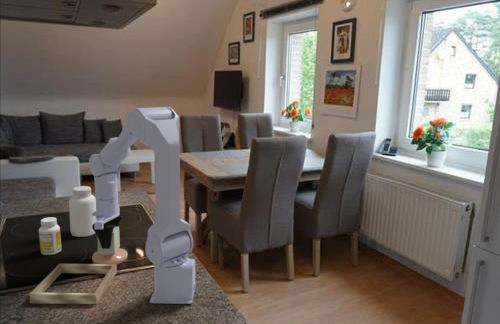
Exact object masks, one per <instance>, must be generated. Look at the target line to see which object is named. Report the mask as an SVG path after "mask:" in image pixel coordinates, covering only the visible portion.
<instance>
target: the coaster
mask: <svg viewBox="0 0 500 324" xmlns="http://www.w3.org/2000/svg"><path fill="white" fill-rule="evenodd" d="M127 254H128V253H127V251H126V250H125V249H124V248H120V247H119V248H118V250H117V251H116V253H98V250H97V251H95V252H94V253H93V254H92V257H91V259H92V264H116V265H119V264H122V263H123V262H124V261H126V260H127V257H128V256H127Z"/></svg>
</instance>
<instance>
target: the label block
mask: <svg viewBox="0 0 500 324" xmlns="http://www.w3.org/2000/svg"><path fill="white" fill-rule="evenodd" d="M120 237H121V236H120V226H119V227H114V229H113V233H112V239H111V246H110V249H102V247H101V245H100V241H99V239H98V236H97V235H96V240H97V251H98V253H116V251H117V250H118V248H120V247H121V244H120V241H121V240H120Z"/></svg>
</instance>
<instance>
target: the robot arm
mask: <svg viewBox="0 0 500 324" xmlns="http://www.w3.org/2000/svg"><path fill="white" fill-rule="evenodd" d="M137 141H139V142H140V143H142V144H143V145H144V146H145V147H148V148H151V149H152V151H153V153H154V179H155V188H154V189H155V221H154V222H153V223H152V225H150V227H149V228H148V230H147V239H146V241H145V247H144V248H145V249H144V251H145V254H146V257H147V259H148V260H149V261H150V262H151V263H152V264H153V268H154V269H153V271H154V273H153V274H154V275H153V277H154V279H153V281H154V290H153V291H152V295H151V297H150V300H149V303H150V304H176V305H177V304H180V305H181V304H184V305H185V304H188V305H189V304H192V303H193V301H194V300H193V299H194V296H195V291H196V287H197V282H196V259H193V258H189V254H190V252H192V250H193V248H194V238H193V234H192V230H191V224H189V223H188V222H187V221H186V220H184V219H182V218H181V174H180V173H181V162H180V161H181V157H180V146H181V145H180V116H179V115H178V114H177V113H176V111H175V110H174V109H173V108H172V107H171V106H167V105H165V106H157V107H132V108H131V109H130V110H129V111H128V113H127V114H126V115H125V126H124V127H123V129H122V130H121V132H120V134H119V135H118V137H110V138H109V139H108V142H107V144H106V145H105V146H104V147H103V148H102V150H101V151H100V152H99V153H93V154H91V155H90V157H89V161H88V166H89V170H90V173H91V174H92V175H93V177H94V195H95V196H94V197H95V198H96V211H94V212H93V213H92V216H96V221H95V222H94V224H93V225H92V229H93V230H94V231H95V235H96V237H97V236H98V239H99V241H100V245H101V247H102V249H110V246H111V239H112V233H113V229H114V227H119V228H120V224H121V222H122V219H123V215H124V214H121V213H120V209H121V208H120V204H119V188H118V180H119V179H120V172H121V170H122V164H123V162H124V160H126V158H127V157H128V156H129V155H130V154H131V151H132V150H131V147H132V146H133V144H135V143H136V142H137Z"/></svg>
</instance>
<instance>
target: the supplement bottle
mask: <svg viewBox="0 0 500 324" xmlns="http://www.w3.org/2000/svg"><path fill="white" fill-rule="evenodd" d="M57 221H58V220H57V217H53V216H51V217H50V216H48V217H44V218H42V219H41V220H40V225H41V226H40V227H39V229H38V237H39V248H40V254H41V255H44V256H51V255H56V254H58V253H59V252H61V251H62V237H61V236H62V235H61V227H60V226H59V225H58V222H57Z"/></svg>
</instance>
